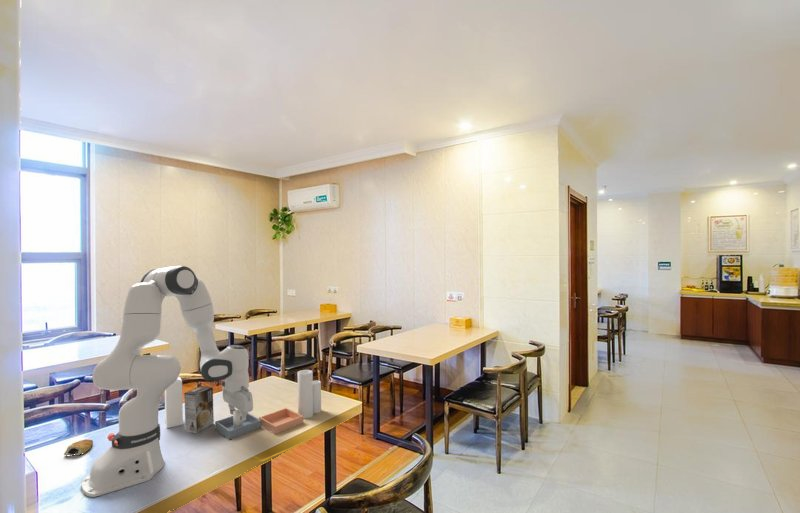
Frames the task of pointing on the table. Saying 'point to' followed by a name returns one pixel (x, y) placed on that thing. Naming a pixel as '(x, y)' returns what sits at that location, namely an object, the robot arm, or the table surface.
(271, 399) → the table surface
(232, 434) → the grey-blue open tray
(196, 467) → the table surface
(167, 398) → the milk
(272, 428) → the salmon open tray
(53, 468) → the table surface
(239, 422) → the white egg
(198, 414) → the coffee box
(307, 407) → the white double cylinder vase
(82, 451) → the pastry
